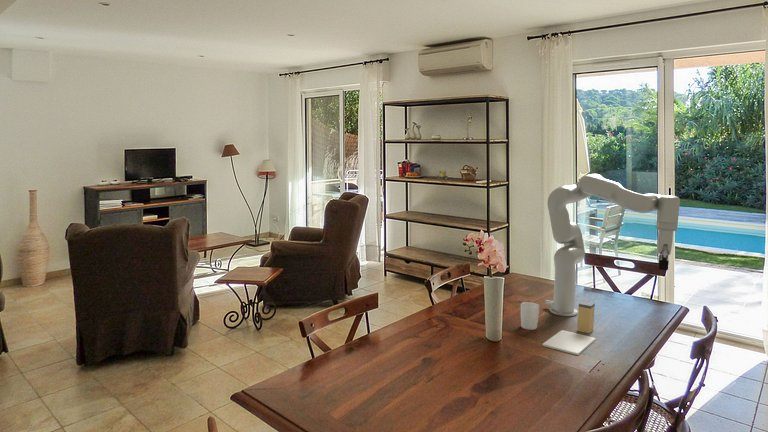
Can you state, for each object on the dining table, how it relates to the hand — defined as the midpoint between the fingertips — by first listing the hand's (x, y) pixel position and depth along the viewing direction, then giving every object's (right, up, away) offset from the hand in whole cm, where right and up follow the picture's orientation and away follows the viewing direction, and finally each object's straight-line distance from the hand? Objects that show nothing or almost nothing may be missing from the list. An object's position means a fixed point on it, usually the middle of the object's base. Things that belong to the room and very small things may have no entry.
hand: (663, 267), depth 210 cm
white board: (-40, -30, -4) cm, 50 cm away
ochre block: (-28, -28, +9) cm, 41 cm away
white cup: (-51, -28, +13) cm, 60 cm away
